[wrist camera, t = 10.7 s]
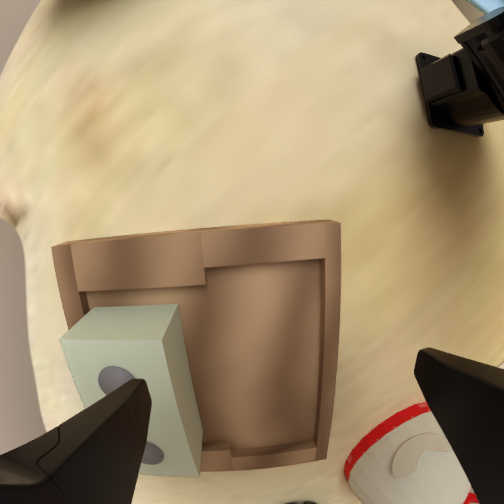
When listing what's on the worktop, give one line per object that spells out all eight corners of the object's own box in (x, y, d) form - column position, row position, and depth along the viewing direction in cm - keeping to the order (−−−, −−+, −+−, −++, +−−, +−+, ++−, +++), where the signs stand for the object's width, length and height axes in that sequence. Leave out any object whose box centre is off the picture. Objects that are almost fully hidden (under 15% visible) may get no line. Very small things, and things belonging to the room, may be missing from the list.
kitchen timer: (332, 443, 23) (382, 570, 9) (452, 377, 23) (541, 462, 8) (355, 496, 26) (390, 583, 11) (448, 446, 26) (503, 516, 11)
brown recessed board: (328, 219, 19) (340, 222, 17) (320, 442, 23) (326, 458, 21) (67, 241, 18) (51, 247, 16) (129, 450, 22) (124, 466, 20)
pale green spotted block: (178, 303, 18) (161, 341, 13) (203, 430, 20) (199, 478, 15) (93, 307, 18) (57, 340, 13) (132, 428, 20) (116, 472, 15)
